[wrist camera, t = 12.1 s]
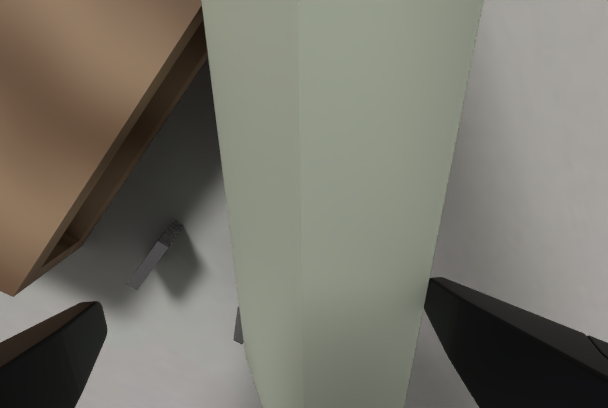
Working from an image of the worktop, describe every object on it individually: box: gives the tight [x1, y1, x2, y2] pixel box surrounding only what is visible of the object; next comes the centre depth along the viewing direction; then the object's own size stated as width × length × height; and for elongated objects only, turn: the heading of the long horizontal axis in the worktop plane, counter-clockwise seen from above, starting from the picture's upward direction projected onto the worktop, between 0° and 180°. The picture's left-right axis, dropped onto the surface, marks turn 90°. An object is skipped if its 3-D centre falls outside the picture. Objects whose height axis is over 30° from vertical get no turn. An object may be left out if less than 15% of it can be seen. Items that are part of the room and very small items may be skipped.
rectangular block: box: [201, 0, 484, 408], centre depth 12 cm, size 18×5×8 cm, turn 1°
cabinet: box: [0, 0, 244, 344], centre depth 14 cm, size 18×19×5 cm
